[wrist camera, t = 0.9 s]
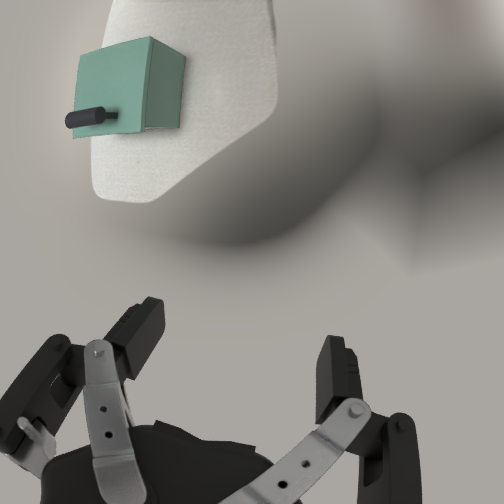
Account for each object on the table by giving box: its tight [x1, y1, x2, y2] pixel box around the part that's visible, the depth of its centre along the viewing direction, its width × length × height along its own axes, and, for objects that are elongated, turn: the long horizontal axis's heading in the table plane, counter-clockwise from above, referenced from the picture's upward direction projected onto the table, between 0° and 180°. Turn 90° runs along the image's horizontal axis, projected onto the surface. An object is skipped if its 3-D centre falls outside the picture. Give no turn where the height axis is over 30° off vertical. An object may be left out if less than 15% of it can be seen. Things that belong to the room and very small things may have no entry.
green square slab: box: [65, 36, 154, 139], centre depth 21 cm, size 11×10×5 cm
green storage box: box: [144, 39, 185, 129], centre depth 27 cm, size 10×10×9 cm
